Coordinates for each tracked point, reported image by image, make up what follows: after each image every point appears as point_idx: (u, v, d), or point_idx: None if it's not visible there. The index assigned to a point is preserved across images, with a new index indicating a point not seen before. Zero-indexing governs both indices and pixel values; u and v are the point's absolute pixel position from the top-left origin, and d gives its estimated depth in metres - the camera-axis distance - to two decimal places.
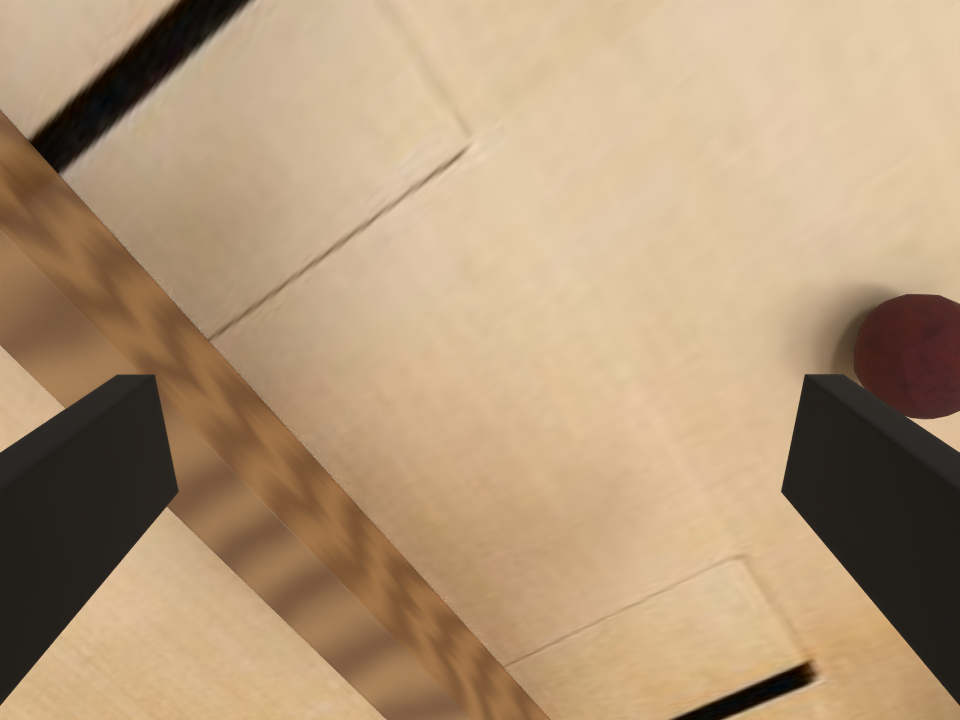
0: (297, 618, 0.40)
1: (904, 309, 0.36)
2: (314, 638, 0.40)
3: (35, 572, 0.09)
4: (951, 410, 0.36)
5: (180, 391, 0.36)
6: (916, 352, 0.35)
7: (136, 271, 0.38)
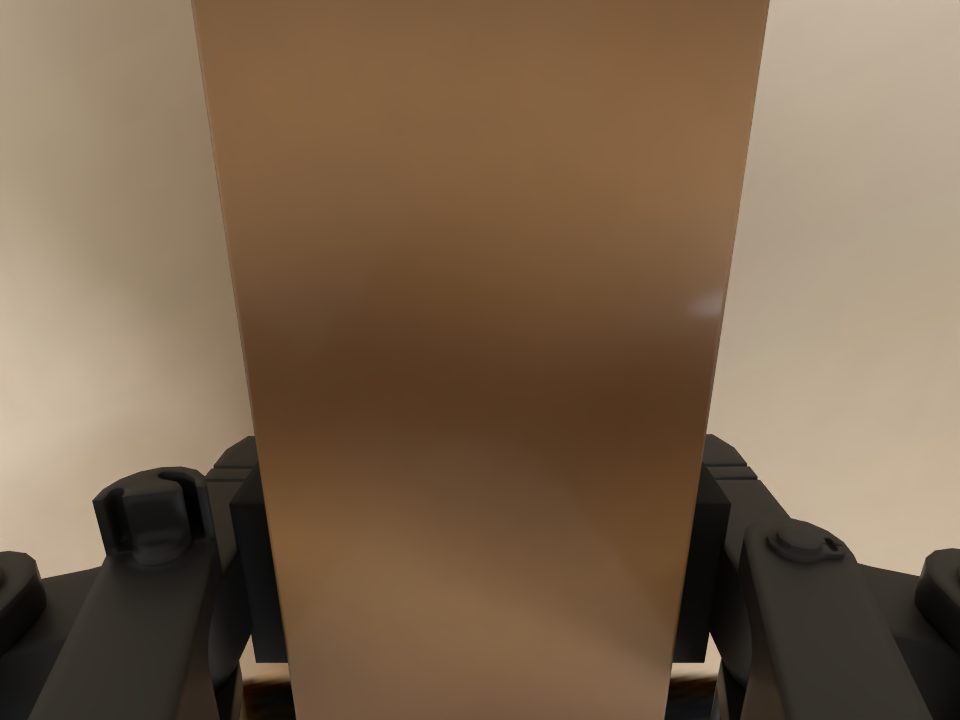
0: None
1: None
2: None
3: None
4: None
5: None
6: None
7: None
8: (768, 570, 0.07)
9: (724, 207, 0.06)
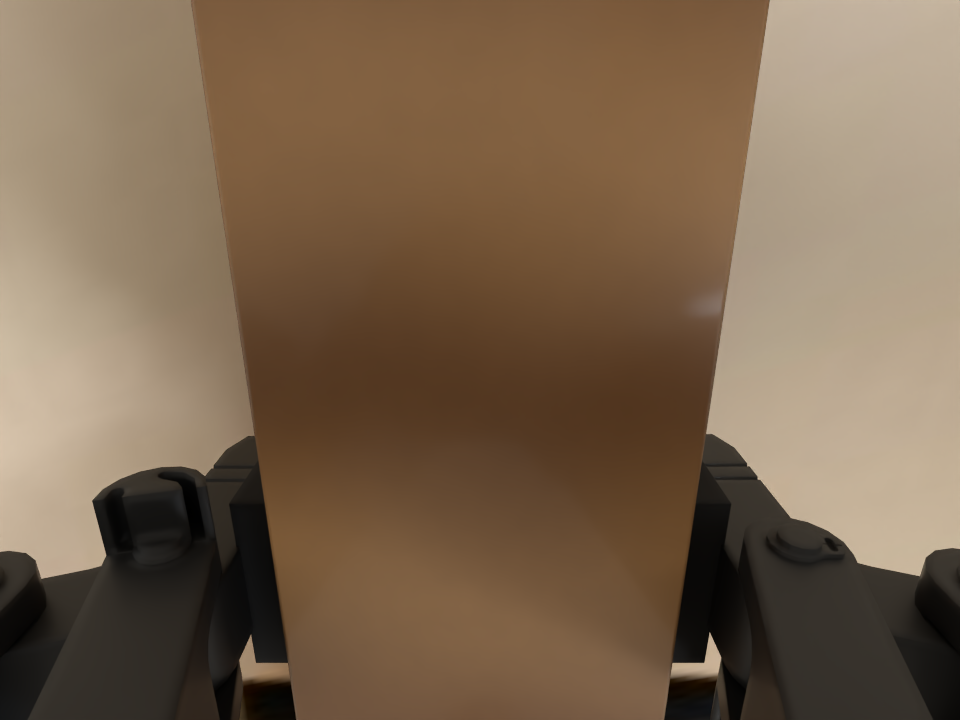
0: None
1: None
2: None
3: None
4: None
5: None
6: None
7: None
8: (769, 569, 0.07)
9: (724, 206, 0.06)
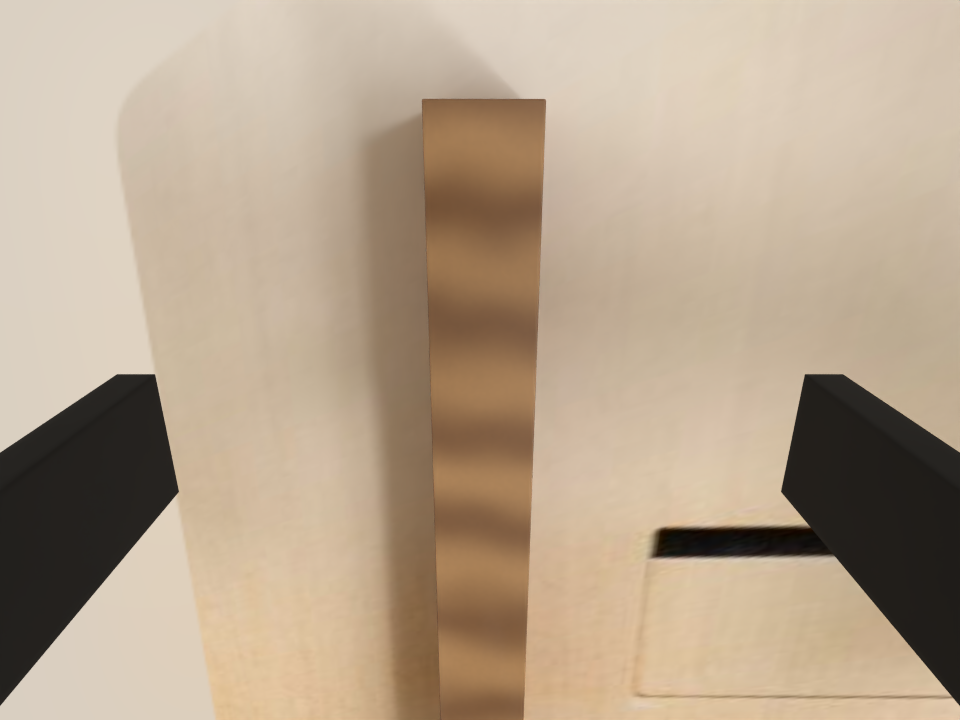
0: None
1: None
2: None
3: (35, 571, 0.09)
4: None
5: None
6: None
7: None
8: None
9: (540, 161, 0.25)
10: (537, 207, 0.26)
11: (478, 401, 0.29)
